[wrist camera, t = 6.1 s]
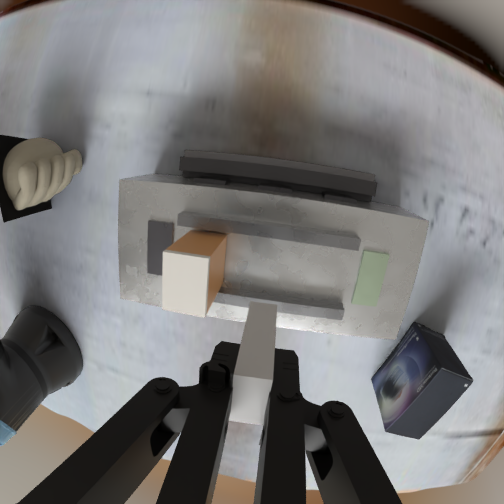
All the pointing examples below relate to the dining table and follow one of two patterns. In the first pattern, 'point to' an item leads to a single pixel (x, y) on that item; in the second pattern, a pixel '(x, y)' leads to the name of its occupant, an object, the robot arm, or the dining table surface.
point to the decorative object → (33, 174)
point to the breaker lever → (193, 272)
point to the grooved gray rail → (278, 173)
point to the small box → (419, 382)
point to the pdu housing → (277, 251)
